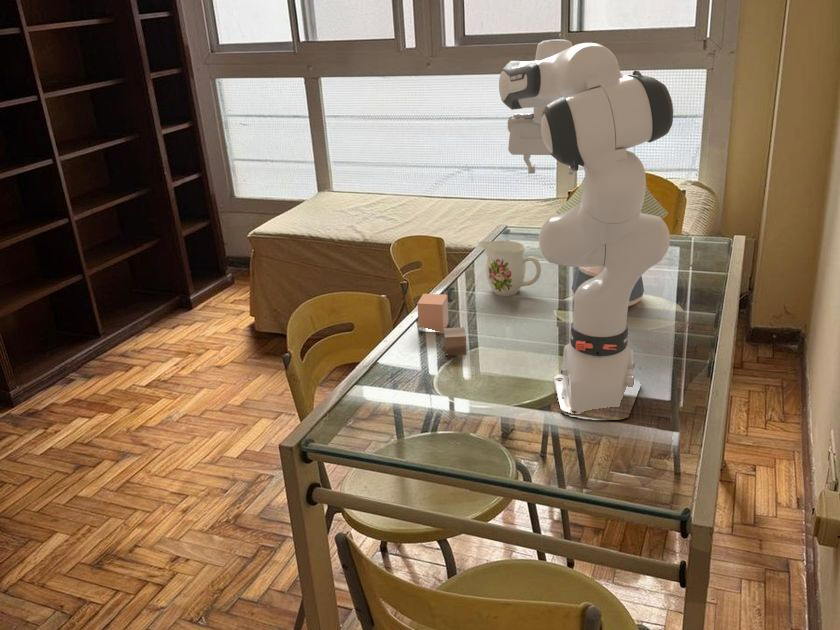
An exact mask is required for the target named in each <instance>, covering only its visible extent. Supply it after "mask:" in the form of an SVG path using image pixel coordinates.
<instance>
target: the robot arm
mask: <svg viewBox="0 0 840 630" xmlns="http://www.w3.org/2000/svg"><path fill="white" fill-rule="evenodd" d="M498 91H499V96H500V99H501V101H502V103H503V104H504V105H505V106H506V107H507V108H509V109H511V110H522V109H529V108H533V112H532V113H514V114H513V115H511V116H510V117H509V118H508V119H507V130H508V132H509V138H508V149H507V150H508V152H509V154H511V155H513V156H514V155H515V156H518V155H519V156H523V161H524V162H525V165H526V167H527V173H528V174H529V175H531V174H535V173H536V164H532V162H531V161H530V159H531V156H551V157H553V159H555V160H556V161H558V162H559V163H561V164H563V165H566V166H568V175H576V172H578V171H579V168H580V167H583V169H584V177H585V180H584V184H583V188H582V194H581V200H580V203H579V204H578V205H576V206H575V207H573V208H572V209H570V210H568V211H566V212H564V213H562V214H557V215H556V214H555V215H553V216H549V217H548V218H547V220H545V222H544V223H543V225H542V226H541V229H540V231H539V235H538V244H539V249H540V250H539V251H541V255H543V257H544V259H545V260H546V261H547V262H548V263H550V264H555V265H559V266H565V267H570V268H577V267H605V269H604V270H603V271H602V272H601V273H600V274H599V275H597V276H596V277H594V278H591V279H589V280H587V281H585V282H584V283H583V284H581V285H580V286H579V287H578V289H577V290H576V292H575V295H574V296H573V313H572V314H573V317H572V318H573V320H572V323H570V324H571V326H570V331H569V335H570V336H569V337H570V339H569V341H570V342H569V343H567V344H566V345H565V346H564V347H563V358H562V359H563V360H562V368H561V370H560V373H559V374H555V375H553V380H552V382H553V386H554V391H555V390H556V392H555V394H556V393H557V396H556V399H557V398H558V400H557V403H558V402H559V405H560V409H561V410H562V411H564V412H568V413H571V414H574V413H573V412H572V411H576V412H577V413H575V414H580V413H581V412H584V411H587V410H592V409H599V408H601V409H602V408H607V407H608V408H609V407H619V406H620V403H621V400H622V398H623V395H624V392H625V390H626V387H627V386H628V387H633V385H634V379H635V375H634V374H633V373H634V372H633V371H634V369H635V363H636V362H634V350H633V349H632V348H631V347H630V346H629V345H628V341H629V339H628V338H629V326H628V325H627V317H628V310H629V306H628V304H629V298H630V295H631V292H632V289H633V287H634V285H635V284H636V282H637V281H638V279H639V278H640V277H641V276H642V277H643V275H644V274H645V273H646V272H647V271H649V269H651V268H652V267H653V266H655V265H656V264H658V263H660V262H661V261H662V260H663V259H664V257H665V256H666V254H667V252H668V250H669V247H670V243H671V236H670V231H669V228H668V226H667V224H666V222H665V221H664V219H661V218H660V217H659V216H654V215H649V214H644V213H640V212H641V209H642V205H643V202H644V197H645V191H646V186H647V179H646V178H647V177H646V170H645V166H644V165H643V162H642V160H641V159H640V158H639V156H637V155H636V153H635V154H633V153H634V152H633V153H631V152H632V151H631V152H629V151H630V150H627V149H630V148H634V147H636V146H639V145H642V144H644V143H646V142H647V143H652V142H654V141H657V140H659V139H661V138H663V137H665V136H666V135H667V134H669V132H670V131H671V129H672V126H673V122H674V103H673V99H672V97H671V95H670V92H669V90H668V88H667V86H666V85H665V84H664V83H663V82H661V81H659V79H657V78H655V77H653V76H646V75H643V74H642V73H641V71H639V70H633V72H632V74H629V75H625V74H624V75H623V74H622V73H621V70H620V65H619V61H618V59H617V57H616V55H615V53H613V52H612V51H611V50H610V49H609V48H608V47H606V46H604V45H602V44H600V43H595V42H582V43H581V42H580V43H577V44H574V45H573V43H572V41H570V40H569V39H563V38H561V39H547V40H542V41H540V42H539V43H538V44H537V47H536V53H535V59H534V60H526V61H523V60H510V61H509V62H508V63H507V64H506V65H505V66H504V67H503V68H502V69H501V71H500V75H499V79H498ZM579 166H580V167H579ZM559 405H558V406H559ZM560 409H559V410H560Z"/></svg>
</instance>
